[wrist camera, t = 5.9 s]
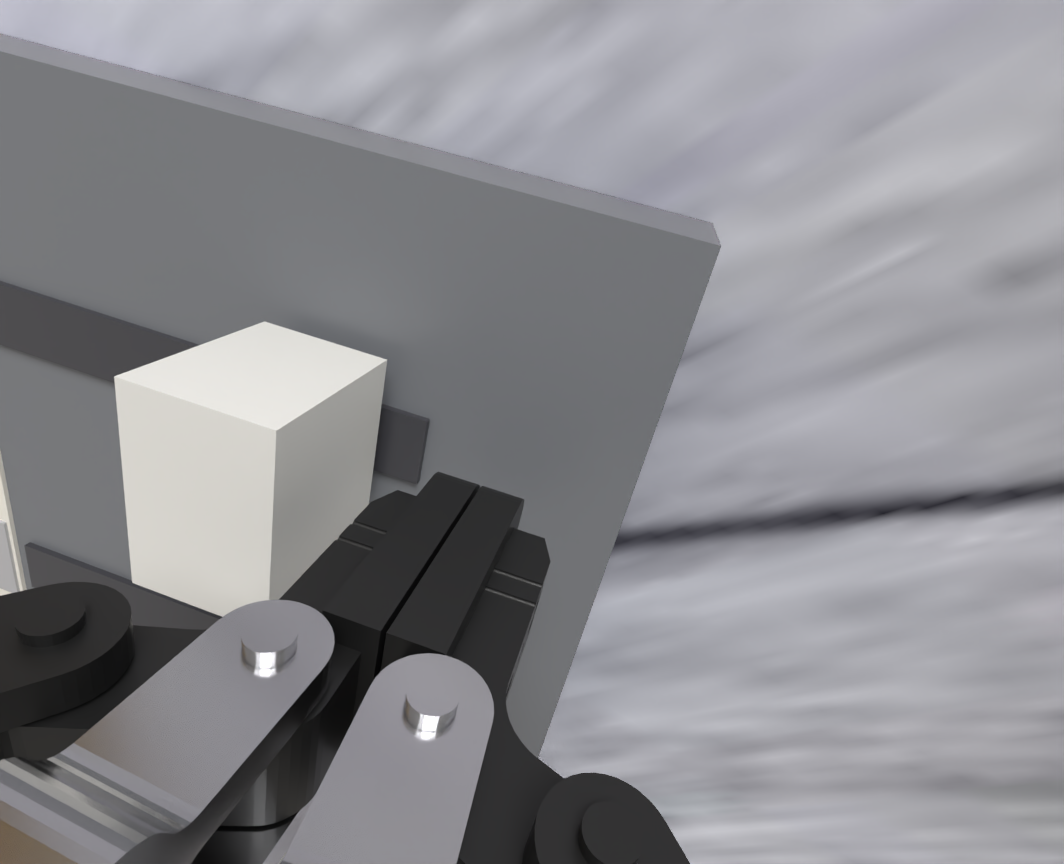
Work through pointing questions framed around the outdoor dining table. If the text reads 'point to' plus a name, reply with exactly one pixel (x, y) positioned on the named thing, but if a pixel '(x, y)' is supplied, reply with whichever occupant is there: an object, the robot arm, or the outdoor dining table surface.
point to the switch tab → (245, 462)
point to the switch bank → (323, 317)
